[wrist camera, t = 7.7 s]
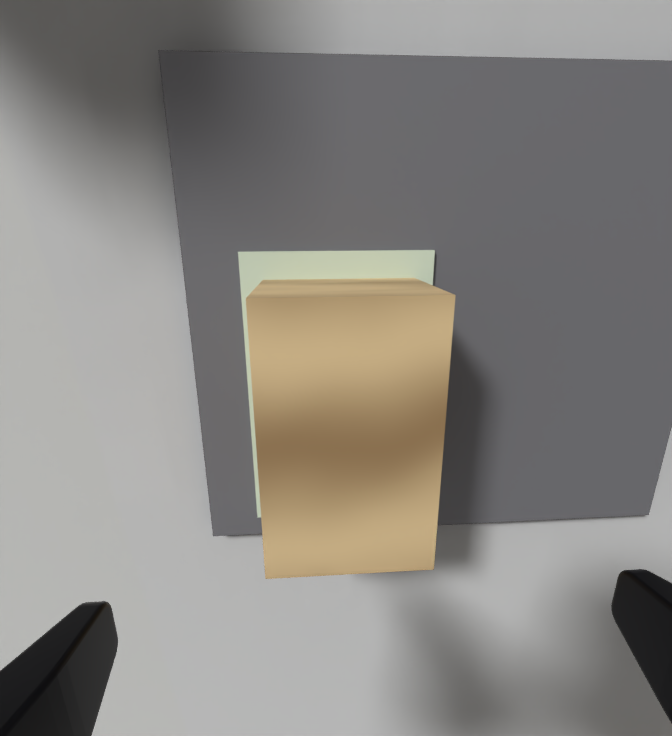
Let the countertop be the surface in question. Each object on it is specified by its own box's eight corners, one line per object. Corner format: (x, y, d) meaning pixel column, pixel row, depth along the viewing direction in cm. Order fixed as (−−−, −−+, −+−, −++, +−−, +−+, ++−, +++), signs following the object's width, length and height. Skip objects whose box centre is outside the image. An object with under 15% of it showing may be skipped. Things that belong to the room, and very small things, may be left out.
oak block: (403, 490, 18) (433, 569, 14) (275, 496, 18) (265, 579, 14) (414, 278, 16) (455, 295, 11) (262, 280, 15) (245, 298, 11)
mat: (748, 69, 15) (772, 60, 14) (638, 506, 20) (651, 517, 20) (164, 58, 14) (156, 47, 13) (215, 527, 19) (212, 539, 18)
